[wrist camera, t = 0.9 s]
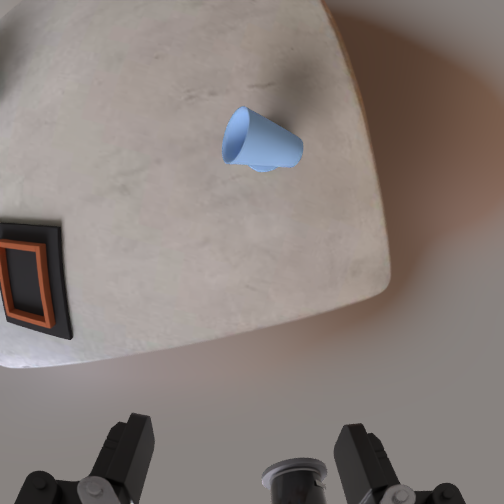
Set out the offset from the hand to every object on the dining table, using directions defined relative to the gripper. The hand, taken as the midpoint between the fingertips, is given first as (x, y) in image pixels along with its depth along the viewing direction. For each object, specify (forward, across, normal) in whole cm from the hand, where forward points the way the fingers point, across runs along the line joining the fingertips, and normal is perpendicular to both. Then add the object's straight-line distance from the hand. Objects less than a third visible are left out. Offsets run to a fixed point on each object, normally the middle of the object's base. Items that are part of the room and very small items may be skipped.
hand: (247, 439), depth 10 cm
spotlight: (+24, 0, +13) cm, 27 cm away
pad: (+24, -31, -5) cm, 39 cm away
